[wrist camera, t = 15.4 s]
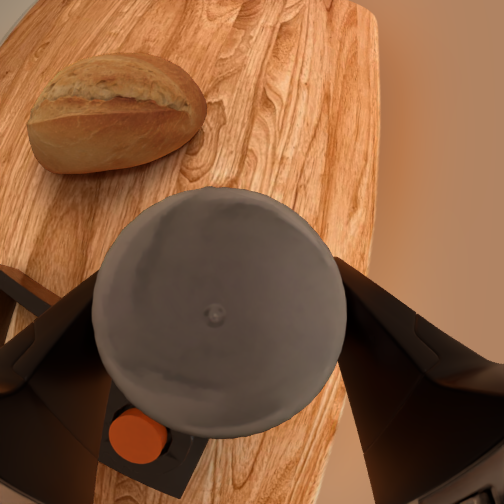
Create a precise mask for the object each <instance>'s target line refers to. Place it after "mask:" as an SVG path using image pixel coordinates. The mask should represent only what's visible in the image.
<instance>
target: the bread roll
mask: <svg viewBox="0 0 504 504" xmlns="http://www.w3.org/2000/svg"><path fill="white" fill-rule="evenodd" d="M206 114H207V104H206V100H205V98H204V96H203V94H202V92H201V90H200V88H199V87H198V85H197V84H196V83H195V82H194V80H193V79H192V78H191V77H190V75H189V74H188V73H187V72H186V71H184V70H183V69H182V68H181V67H179V66H178V65H176V64H174V63H172V62H170V61H168V60H165V59H162V58H160V57H157V56H153V55H150V54H143V53H113V54H103V55H98V56H93V57H89V58H85V59H82V60H79V61H77V62H75V63H73V64H70V65H69V66H67V67H65V68H64V69H62V70H61V71H60V72H58V73H57V74H56V76H55V77H54V78H53V79H52V80H51V81H50V82H49V83H48V84H47V85H46V87H45V88H44V89H43V91H42V93H41V95H40V96H39V98H38V99H37V101H36V103H35V104H34V106H33V108H32V110H31V116H30V119H29V120H28V122H27V130H28V136H29V141H30V144H31V147H32V150H33V153H34V156H35V157H36V159H37V160H38V162H39V163H40V164H41V165H42V166H43V167H44V168H45V169H47V170H48V171H50V172H53V173H57V174H83V173H91V172H100V171H105V170H114V169H122V168H129V167H133V166H137V165H142V164H146V163H149V162H151V161H154V160H156V159H159V158H161V157H163V156H165V155H167V154H169V153H171V152H173V151H174V150H176V149H178V148H180V147H181V146H183V145H184V144H185V143H187V142H188V141H189V140H190V139H191V138H192V137H193V136H194V135H195V134H196V132H197V131H198V130H199V129H200V128H201V126H202V125H203V123H204V120H205V118H206Z"/></svg>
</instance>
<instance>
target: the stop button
mask: <svg viewBox="0 0 504 504" xmlns="http://www.w3.org/2000/svg"><path fill="white" fill-rule="evenodd" d="M109 439H110V443H111V445H112V447H113V448H114V450H115V451H116V452H117V453H118V454H119V455H120V456H121V457H122V458H124V459H126V460H127V461H130V462H132V463H137V464H146V463H150V462H152V461H154V460H155V459H156V458H158V456H159V455H160V453H161V451H162V449H163V447H164V445H165V444H166V441H167V429H166V427H165V426H163V425H161V424H159V423H157V422H156V421H154V420H153V419H151V418H149V417H148V416H146V415H145V414H143V412H142V411H140V410H139V409H137V408H131V409H128V410H126V411H125V412H123V413H122V414H121V415H120V416H119V417H118V418H116V419H115V420H114V421H113V422H112V424H111V426H110V429H109Z"/></svg>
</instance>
